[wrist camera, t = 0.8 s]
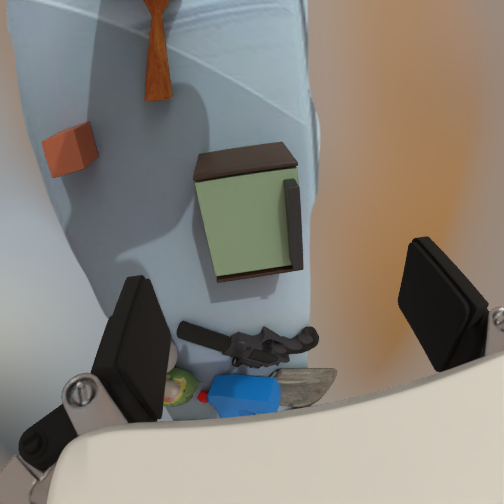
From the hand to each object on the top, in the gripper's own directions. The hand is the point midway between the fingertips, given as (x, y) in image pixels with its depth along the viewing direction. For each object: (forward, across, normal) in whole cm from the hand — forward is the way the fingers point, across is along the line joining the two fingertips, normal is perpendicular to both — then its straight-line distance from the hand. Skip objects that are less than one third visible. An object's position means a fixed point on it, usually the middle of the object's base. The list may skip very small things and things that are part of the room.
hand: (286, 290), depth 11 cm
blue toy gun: (+18, +9, +52) cm, 55 cm away
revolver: (+30, -1, +30) cm, 42 cm away
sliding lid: (+23, 0, +9) cm, 25 cm away
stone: (+31, -2, +61) cm, 68 cm away
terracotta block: (+31, +22, -3) cm, 37 cm away
